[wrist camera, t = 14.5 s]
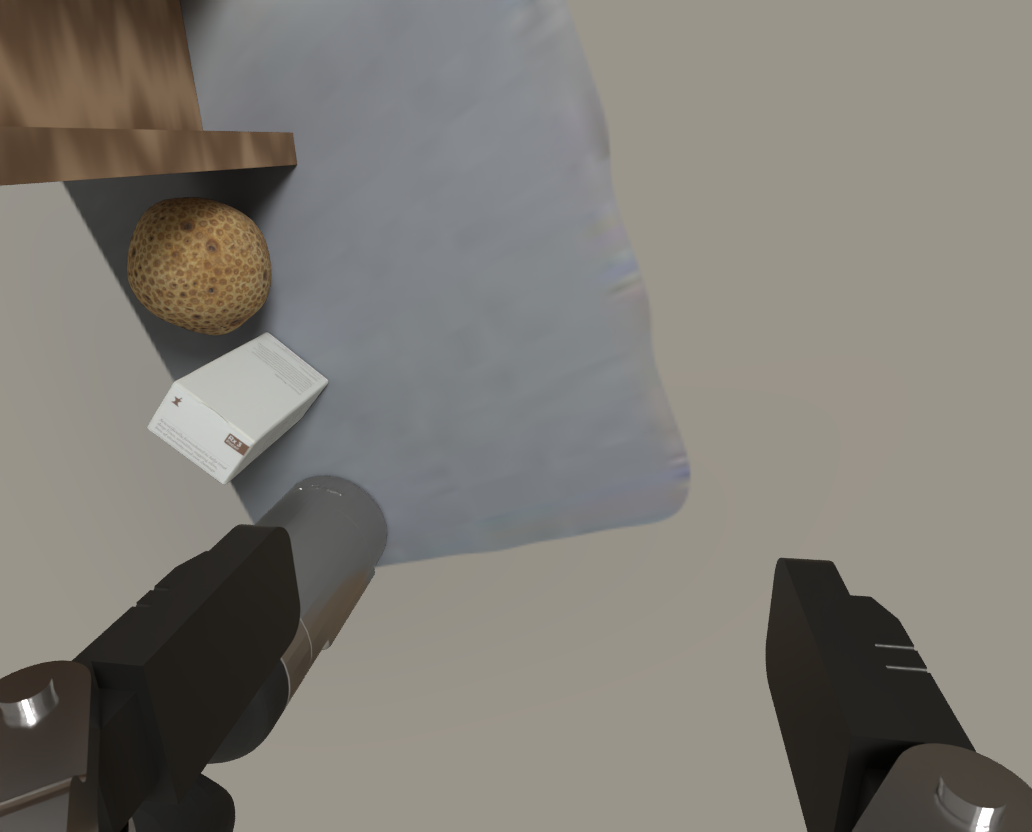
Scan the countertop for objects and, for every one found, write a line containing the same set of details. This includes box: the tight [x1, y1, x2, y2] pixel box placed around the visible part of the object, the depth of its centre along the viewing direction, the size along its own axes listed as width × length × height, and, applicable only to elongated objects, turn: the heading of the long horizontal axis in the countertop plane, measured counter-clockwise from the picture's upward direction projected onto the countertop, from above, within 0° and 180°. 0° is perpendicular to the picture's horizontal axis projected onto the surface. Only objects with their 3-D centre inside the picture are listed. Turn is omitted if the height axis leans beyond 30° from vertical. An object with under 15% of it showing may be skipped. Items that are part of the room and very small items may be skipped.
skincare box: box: [147, 332, 328, 485], centre depth 47 cm, size 6×4×12 cm
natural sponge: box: [127, 197, 271, 335], centre depth 45 cm, size 9×9×10 cm
